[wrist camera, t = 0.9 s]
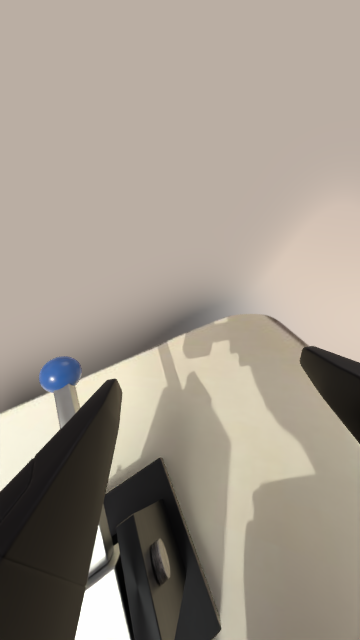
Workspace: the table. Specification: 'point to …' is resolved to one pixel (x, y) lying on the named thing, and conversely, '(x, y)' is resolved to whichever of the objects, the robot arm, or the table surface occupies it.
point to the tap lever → (106, 567)
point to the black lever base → (159, 560)
